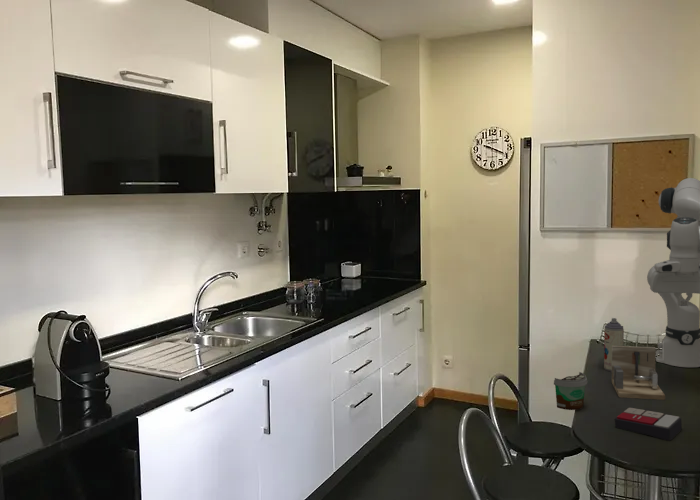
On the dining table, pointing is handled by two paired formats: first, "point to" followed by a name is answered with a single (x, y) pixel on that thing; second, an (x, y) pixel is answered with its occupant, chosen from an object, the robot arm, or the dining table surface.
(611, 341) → the aerosol can
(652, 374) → the slab with metal rod
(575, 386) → the food container
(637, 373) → the dark bent bar
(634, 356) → the gauge frame
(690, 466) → the dining table surface
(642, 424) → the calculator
